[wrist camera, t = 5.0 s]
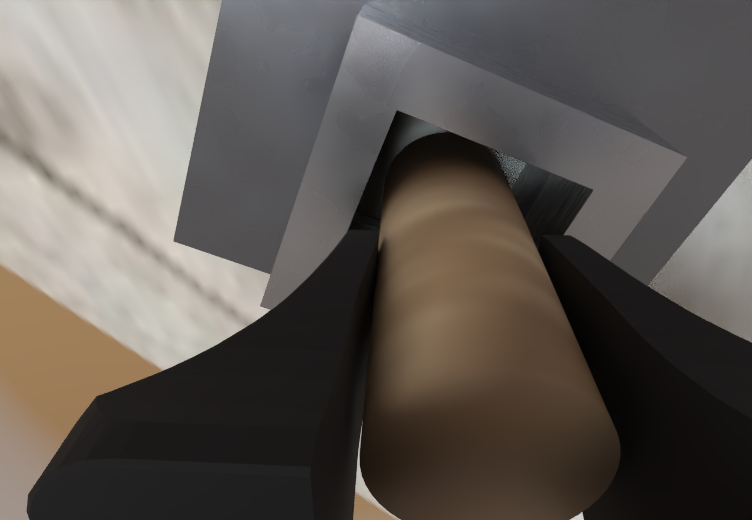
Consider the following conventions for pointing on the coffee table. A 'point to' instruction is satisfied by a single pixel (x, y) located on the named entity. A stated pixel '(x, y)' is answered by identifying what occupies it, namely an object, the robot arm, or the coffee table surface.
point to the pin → (473, 355)
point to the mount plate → (469, 118)
